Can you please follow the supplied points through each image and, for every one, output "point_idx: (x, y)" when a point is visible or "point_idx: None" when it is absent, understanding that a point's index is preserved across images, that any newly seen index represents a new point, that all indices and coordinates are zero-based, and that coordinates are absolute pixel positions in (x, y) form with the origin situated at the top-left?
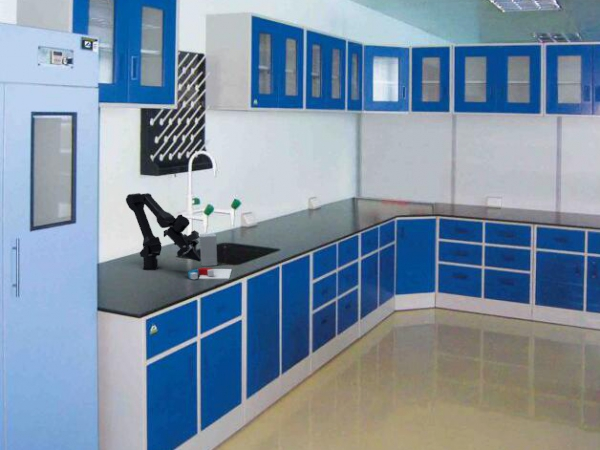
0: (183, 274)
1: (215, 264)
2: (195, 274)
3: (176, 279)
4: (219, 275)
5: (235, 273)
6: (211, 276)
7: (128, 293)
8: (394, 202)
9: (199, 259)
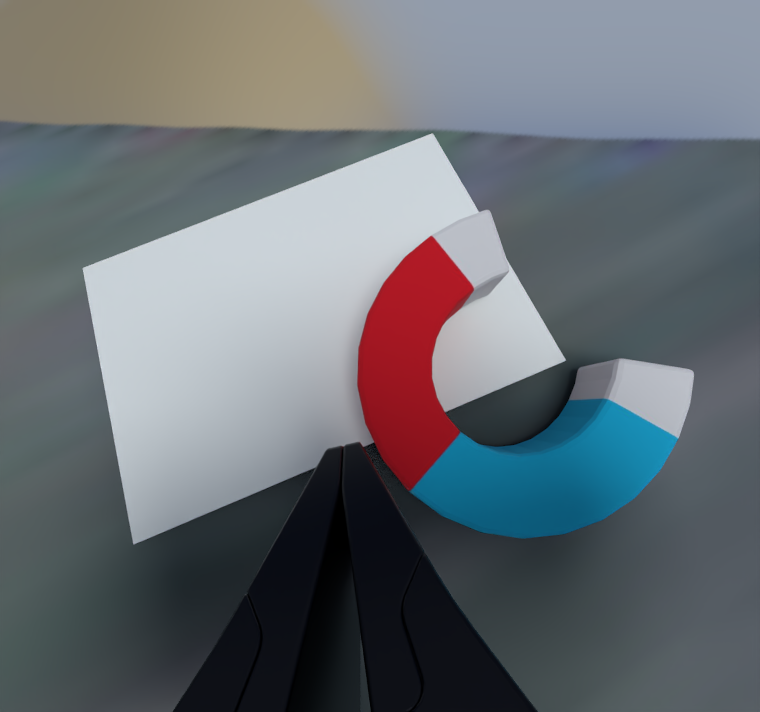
0: None
1: None
2: (653, 365)
3: (724, 601)
4: (373, 241)
5: (213, 190)
6: None
7: None
8: None
9: (372, 463)
